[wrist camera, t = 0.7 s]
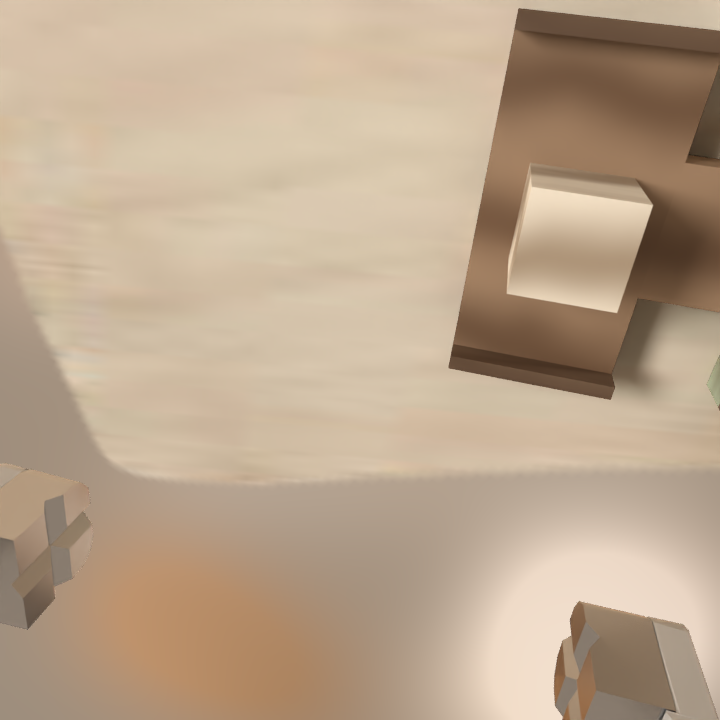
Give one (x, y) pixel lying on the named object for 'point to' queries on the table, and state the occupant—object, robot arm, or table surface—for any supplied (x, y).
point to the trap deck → (602, 155)
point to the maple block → (576, 237)
